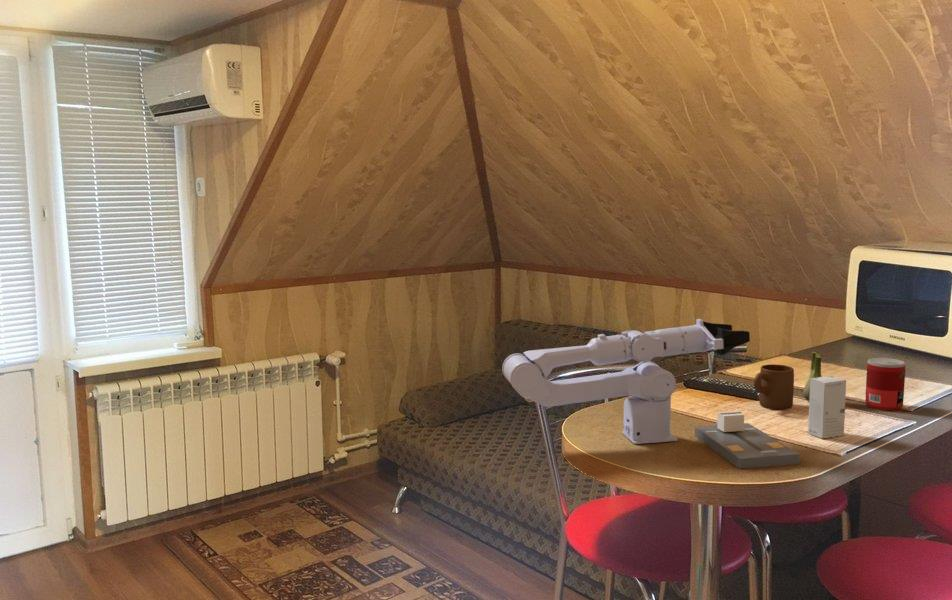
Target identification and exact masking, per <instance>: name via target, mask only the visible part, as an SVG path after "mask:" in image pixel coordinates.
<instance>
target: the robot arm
mask: <svg viewBox="0 0 952 600" xmlns="http://www.w3.org/2000/svg"><path fill="white" fill-rule="evenodd" d="M750 337H751V336H750V331H746V330H733V325H732V324H727V323H713V322H709V321H708V322H707V321H704V320H703V319H701V318H697V319H696V320H695V324H693V325H686V326H685V325H684V326H675V327H669V328H660V329H656V330H649V331H643V332H641V331H639V330H635V329H634V330H633V329H628V330H626V331H621V334H616V335H606V334H604V333H600V334H597V337H593V338H591V339H590V340H589V341H588V343H587V344H586V345H576V346H565V347H564V346H563V347H553V348H543V349H542V348H541V349H533V350H526V351H524V352H522V353H523V354H522V353H519V352H517V353H512V354H510V355H508V356H507V357H506V358H505V359H504V361H503V363H502V367H501V368H502V369H501V370H502V375H503V376H504V378H505V379H506V381H508V382H509V383H510V385H511V386H512V388H513V389H514V390H515V391H516V392H517V394H519V395H520V397H522V398H525V399H528V400H530V401H532V402H534V403H536V404H538V405H540V406H542V407H545V408H546V407H547V408H550V407H557V406H564V405H571V404H578V403H584V402H585V403H586V402H592V401H601V400H606V399H613V398H619V397H627V396H629V397H627V398H625V400H624V402H623V418H622V419H623V420H622V421H623V426H622V427H623V430H622V431H621V433H622V434H623V435H624V436H625V437H626V438H627V439H629V440H630V441H631V442H632V443H633V444H635V445H641V444H652V443H654V444H655V443H666V442H667V443H668V442H677V441H678V438H677V437H676V436H675V435H673V433H671V421H672V420H671V416H672V415H671V413H672V412H671V411H672V410H671V409H672V405H671V404H672V395H673V394H674V392H675V390H676V386H677V381H676V378H675V376H674V375H673V374H672V372H671V371H669V370H666V369H664V368H663V367H660V366H659V365H658V364H657V363H655V362H653V361H652V360H653V359H654V358H658V357H659V358H660V357H661V358H663V357H670V356H677V355H686V354H692V353H706V352H709V351H713V350H715V351H716V354H717V355H719V356H723V355H727V354H728V352H730V351H731V350H733V349H735V348H736V347H739V346H741V345H742V346H743V345H744V344H747V343H749V342H750V341H751V338H750ZM631 360H634V361H635V362H638V363H637V364H636V365H633V366H630V367H629V366H628V367H625V369H623V370H622V371H617V372H608V373H602V374H595V375H589V376H588V375H587V376H581V377H580V376H579V377H573V378H566V379H557V380H552V381H550V380H549V379H548V378H547V377H548V376H549V375H550V374H551V372H552V371H553V369H555V368H559V367H563V366H565V367H566V366H569V365H574V364H579V363H585V362H591V363H592V364H593V365H594V366H596V367H598V366H604V365H605V366H606V365H613V364H617V363H618V364H619V363H625V362H626V363H627V362H628V361H631Z"/></svg>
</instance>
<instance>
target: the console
mask: <svg viewBox="0 0 952 600" xmlns="http://www.w3.org/2000/svg"><path fill="white" fill-rule="evenodd" d="M694 436H695V437H696V438H697V439H698V440H700V441H701V442H703V443H704V444H705V445H706V446H708V447H710V448H711V449H712V450H713V451H715V452H716V453H717V454H719V455H720V456H722V457H723V458H725V459H726V460H728V462H730V463H731V464H732V465H734V466H735V467H737V468H738V469H739V470H741V469H742V470H743V469H754V468H766V467H767V468H768V467H780V466H792V465H800V453H798V452H797V451H795V450H793V449H791V448H790V447H788V446H787V445H785V444H784V443H782V442H780V441H779V440H778V439H777V440H776V439H775V438H774V437H772V436H770V435H768V434H767V433H765V432H763V431H762V430H761V429H759V428H757V427H755V426H754V425H752V424H751V423H748V422H744V431H733V432H723V431H721V430H720V429H718V428H717V421H715V422H714V425H705V426H704V425H702V426H700V425H699V426H694Z"/></svg>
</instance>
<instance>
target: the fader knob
mask: <svg viewBox="0 0 952 600" xmlns="http://www.w3.org/2000/svg"><path fill="white" fill-rule="evenodd" d="M716 422H717V428H718V429H720V430H721V431H723V432H733V431H744V423H745V414H744V413H742V412H741V411H739V410H729V411H718V412H717V421H716Z"/></svg>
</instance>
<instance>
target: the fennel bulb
mask: <svg viewBox="0 0 952 600" xmlns="http://www.w3.org/2000/svg"><path fill="white" fill-rule="evenodd" d="M810 360H811V361H810V362H811V365H810V372H809V376H808V378H807V381H806V383H805V384H804V387H803V391H802V395H803V398H804V399H805V400H807V402H809V399H810V379H811V378H818V377H823V376H822V368H821V367H822V355H821V354H818V352H815V351H812V352H811V359H810Z"/></svg>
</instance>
